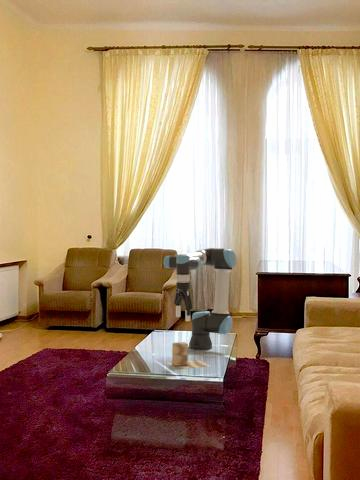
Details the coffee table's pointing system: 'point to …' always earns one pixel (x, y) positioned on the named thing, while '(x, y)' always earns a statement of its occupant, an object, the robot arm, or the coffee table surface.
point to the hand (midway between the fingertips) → (182, 319)
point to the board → (190, 364)
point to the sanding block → (179, 354)
